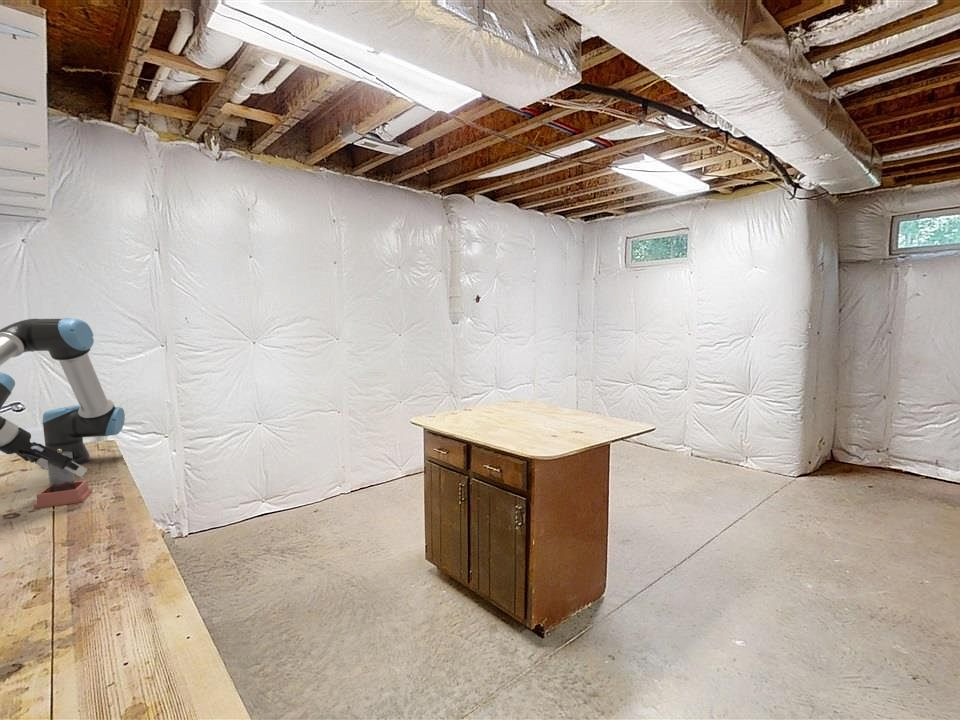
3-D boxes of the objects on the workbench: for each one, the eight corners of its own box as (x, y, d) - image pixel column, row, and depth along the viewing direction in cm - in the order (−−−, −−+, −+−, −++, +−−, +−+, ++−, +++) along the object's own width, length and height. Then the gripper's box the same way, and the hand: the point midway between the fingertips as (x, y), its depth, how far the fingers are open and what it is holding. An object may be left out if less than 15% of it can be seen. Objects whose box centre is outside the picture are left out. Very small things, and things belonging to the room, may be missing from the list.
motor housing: (54, 494, 153) (50, 448, 152) (78, 491, 156) (74, 445, 154) (47, 501, 148) (43, 452, 146) (72, 497, 150) (68, 450, 149)
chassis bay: (46, 497, 154) (45, 485, 153) (92, 491, 159) (91, 479, 158) (33, 508, 145) (32, 495, 144) (82, 501, 150) (81, 489, 150)
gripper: (-30, 445, 140) (36, 477, 155) (23, 451, 131) (87, 485, 147) (-8, 423, 144) (54, 457, 160) (44, 429, 136) (104, 464, 151)
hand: (70, 471), depth 153 cm, fingers open, 13 cm apart
